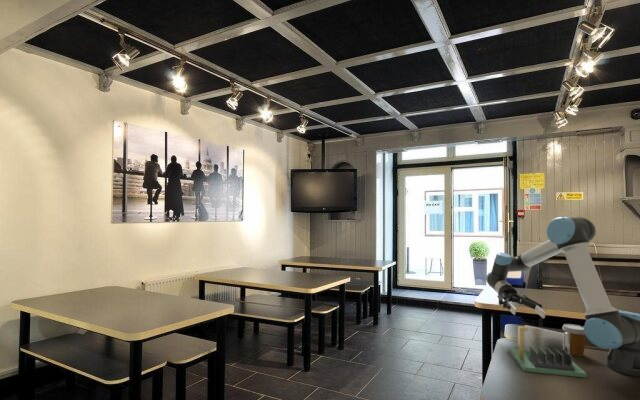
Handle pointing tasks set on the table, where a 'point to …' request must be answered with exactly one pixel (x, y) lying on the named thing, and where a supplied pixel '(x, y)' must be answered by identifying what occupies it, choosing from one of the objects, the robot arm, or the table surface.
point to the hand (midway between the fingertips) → (529, 313)
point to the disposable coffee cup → (575, 338)
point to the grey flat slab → (543, 339)
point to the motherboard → (528, 366)
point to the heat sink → (547, 354)
